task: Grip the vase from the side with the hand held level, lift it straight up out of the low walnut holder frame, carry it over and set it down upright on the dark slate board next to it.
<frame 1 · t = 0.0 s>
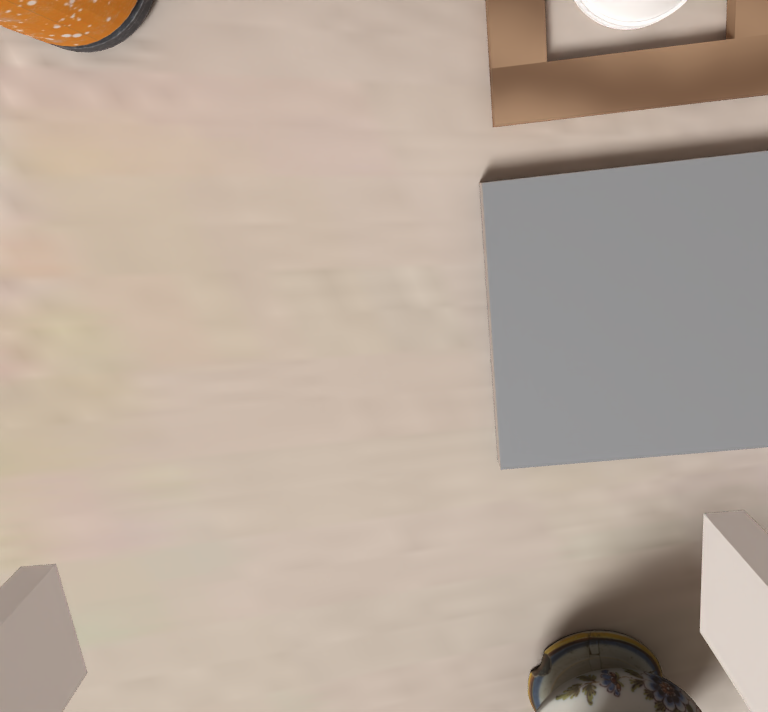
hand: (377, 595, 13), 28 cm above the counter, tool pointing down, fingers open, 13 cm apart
slate board: (634, 315, 39), on the counter
apothecary jar: (592, 682, 47), on the counter
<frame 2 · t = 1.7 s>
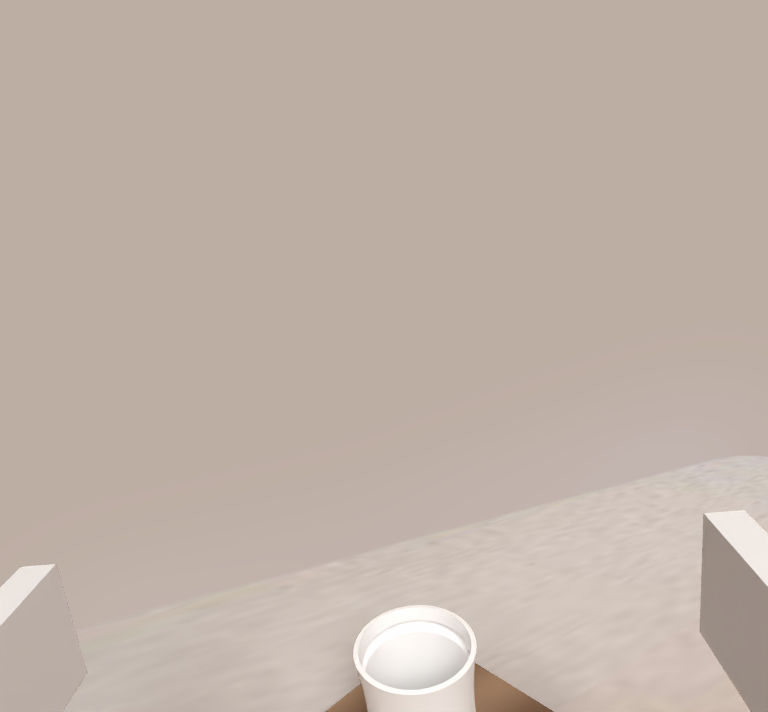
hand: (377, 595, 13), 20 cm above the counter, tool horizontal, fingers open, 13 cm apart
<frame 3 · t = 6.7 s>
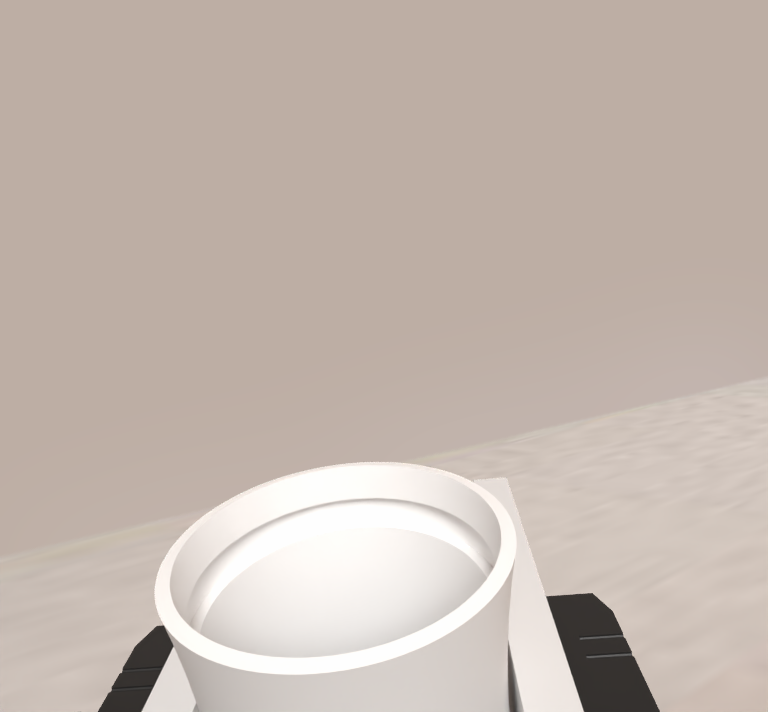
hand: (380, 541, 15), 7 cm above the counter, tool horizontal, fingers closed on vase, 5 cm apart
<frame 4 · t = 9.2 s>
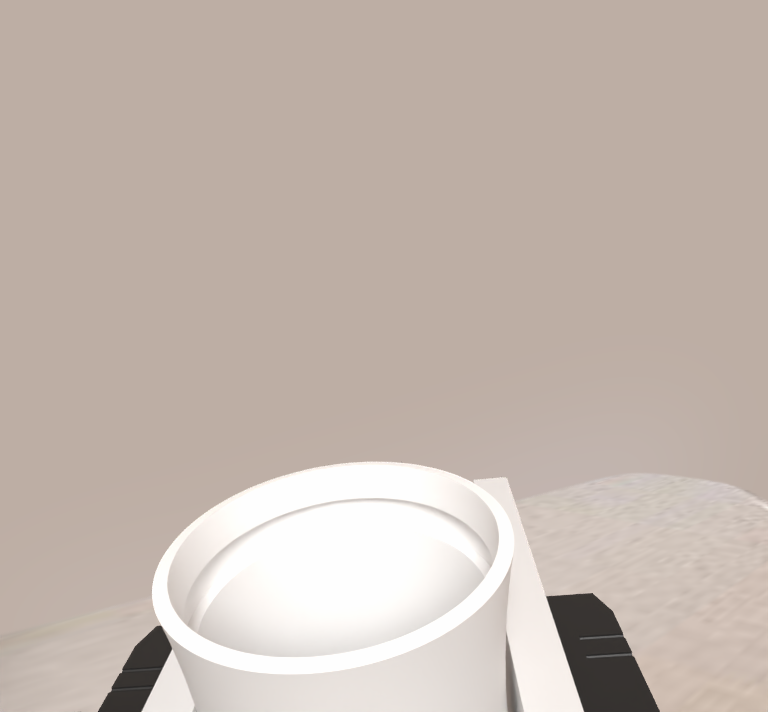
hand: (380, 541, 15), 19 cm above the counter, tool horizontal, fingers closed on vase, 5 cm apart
when the fingers open (10 cm above the counter, at t = 11.9 s): vase drops 2 cm, resting on slate board.
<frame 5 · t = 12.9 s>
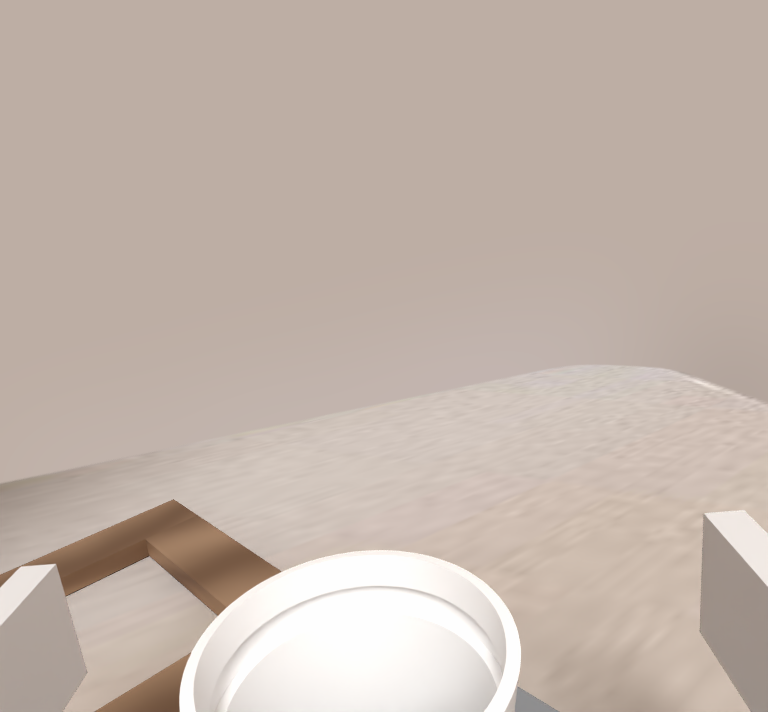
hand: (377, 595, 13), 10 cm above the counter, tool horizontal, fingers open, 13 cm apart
holder frame: (84, 652, 27), on the counter
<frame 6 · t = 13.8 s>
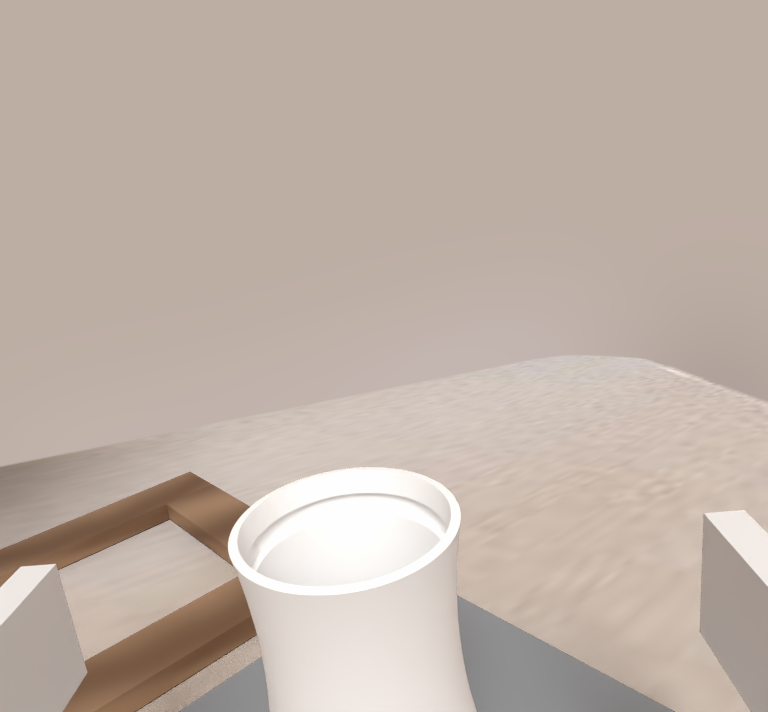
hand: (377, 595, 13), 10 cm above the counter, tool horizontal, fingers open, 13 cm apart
holder frame: (117, 594, 31), on the counter
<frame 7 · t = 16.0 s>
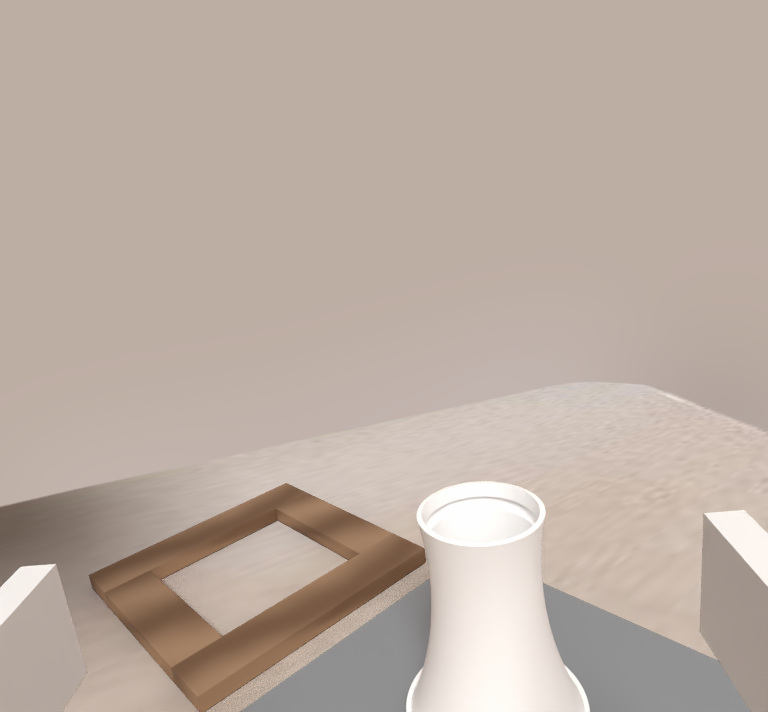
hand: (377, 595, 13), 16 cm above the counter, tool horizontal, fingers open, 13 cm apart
holder frame: (255, 575, 42), on the counter
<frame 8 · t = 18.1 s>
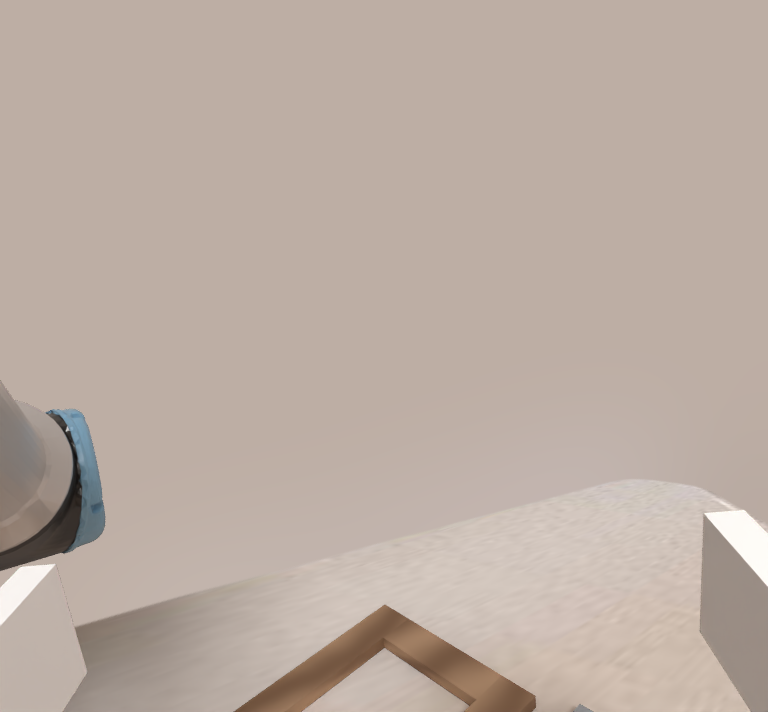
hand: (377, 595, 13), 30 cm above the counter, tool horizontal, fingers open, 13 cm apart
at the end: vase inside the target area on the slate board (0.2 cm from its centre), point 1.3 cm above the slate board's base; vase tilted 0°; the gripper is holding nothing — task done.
